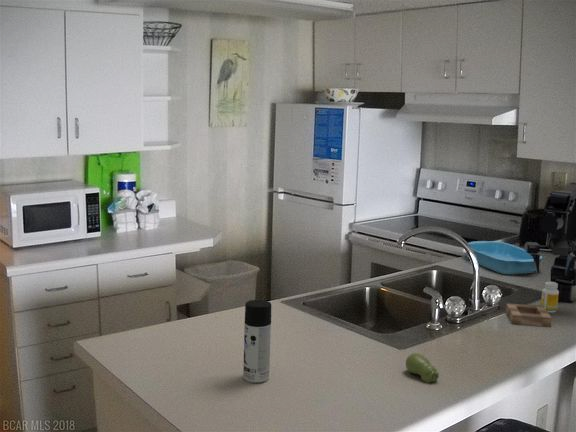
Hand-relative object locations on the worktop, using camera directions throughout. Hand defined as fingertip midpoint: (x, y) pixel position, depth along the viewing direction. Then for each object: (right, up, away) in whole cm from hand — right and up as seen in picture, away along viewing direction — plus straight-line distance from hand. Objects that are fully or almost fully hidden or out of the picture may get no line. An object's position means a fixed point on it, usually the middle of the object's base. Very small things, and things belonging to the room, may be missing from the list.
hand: (551, 274), depth 234 cm
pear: (-54, -22, -53) cm, 79 cm away
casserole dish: (+1, -2, +59) cm, 59 cm away
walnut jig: (-10, -14, -6) cm, 19 cm away
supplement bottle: (0, -13, +3) cm, 13 cm away
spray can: (-97, -22, -57) cm, 115 cm away
